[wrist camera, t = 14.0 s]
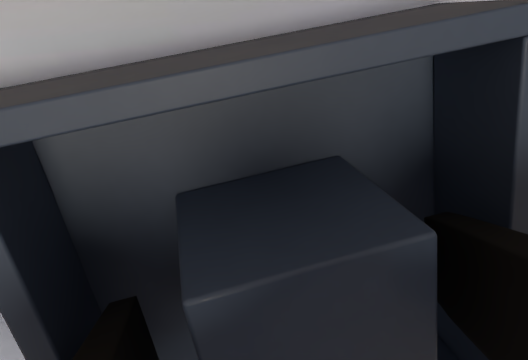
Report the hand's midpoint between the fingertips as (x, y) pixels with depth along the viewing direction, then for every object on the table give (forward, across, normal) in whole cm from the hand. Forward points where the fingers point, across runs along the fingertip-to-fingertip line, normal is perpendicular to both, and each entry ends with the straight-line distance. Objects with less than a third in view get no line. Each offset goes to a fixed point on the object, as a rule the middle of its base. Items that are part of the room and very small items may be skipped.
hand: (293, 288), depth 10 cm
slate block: (+2, 0, 0) cm, 2 cm away
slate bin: (+2, 0, 0) cm, 2 cm away
